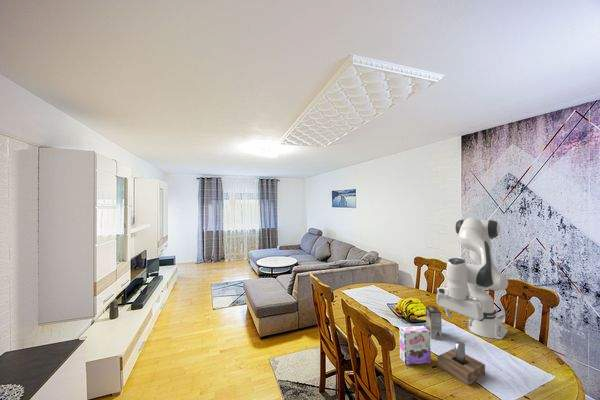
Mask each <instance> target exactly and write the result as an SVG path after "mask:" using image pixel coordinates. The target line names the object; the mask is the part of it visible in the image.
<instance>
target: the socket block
mask: <svg viewBox="0 0 600 400" xmlns="http://www.w3.org/2000/svg"><path fill="white" fill-rule="evenodd" d="M436 358H437V359H436V360H437V361H436V362H437V363H436V364H437V367H438V368H439V369H441V370H442V371H443V372H445V373H447V374H449V376H452V377H453V378H455V379H457V380H458V381H460V382H461V383H462V384H464V385H466V386H469V385H472V384H473V383H475V382H477V381H478V380H480V379H482V378H483V377H485V376H486V364H485V363H483V362H481V361H479V360H477V359H475V358H474V357H471V356H470V355H468V354H466V353H465V362H466V364H465V365H461V364H459V363H458V362H456V360H455V347H454V348H452V349H450V350H448V351H445V352H443V353H441V354H439V355H437V356H436Z"/></svg>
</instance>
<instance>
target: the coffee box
mask: <svg viewBox="0 0 600 400" xmlns="http://www.w3.org/2000/svg"><path fill="white" fill-rule="evenodd" d="M425 325H426V327H425V328H427V329H428V330H429V331H430V340H431V339H434V340H443V336H442V335H443V332H442V331H443V330H442V327H443V326H442V312H441V311H440V309H439V308H438V307H437V306H436V305H425Z"/></svg>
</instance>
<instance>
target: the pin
mask: <svg viewBox="0 0 600 400" xmlns="http://www.w3.org/2000/svg"><path fill="white" fill-rule="evenodd" d="M454 348H455V360H456V362H458V363H459V364H461V365H465V364H466V362H465V354H466V344H465V343H464V342H462V341H459V340H456V341H454Z"/></svg>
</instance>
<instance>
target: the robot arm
mask: <svg viewBox="0 0 600 400" xmlns="http://www.w3.org/2000/svg"><path fill="white" fill-rule="evenodd" d="M454 229H455V232H456V235H458V237H457V240H458V242H459V244H460V245H461V246H462V247H463V248H465V249H467V250H469V258H470V260H471V261H472V262H474V263H475V264H471V263H466V260H464V259H462V258H458V257H453V258H449V259H447V263H446V272H445V274H446V280H447V282H446V285H443V286H441V287H437V288H436V291H437V293H436V305H438V306H439V307H442V308H443V310H444V312H445V314H446V317H447V318H449V319H451V318H453V317H452V316H453V315H452V313H450V311H452V312H455V313H458V314H460V315H463V316H466V317H467V318H468V320H467V321H466V326H467V327H468V328H469V331H470V332H472V333H473V334H475V335H478V336H480V337H483V338H488V339H495V340H503V339H504V337H505V336H506V335H507V334H508V332H509V330H508V329H507V328H505V327H503V326H504V325H503V321H502V319H499V318H498V317H497V316H496V315H497V314H498V312H499V311H498V310H497V309H495V307H494V306H495V305H494V298H493V297H492V296H491V294H489V293H488V292H486V291H485V290H484V289H487V290H492V291H505V290H506V289H507V288H508V286H509V280H508V278H507V276H506V275H505V274H503V272H501V271H499V270H498V268H497V267H496V265H495V263H494V260H493V252H492V240H493V239H496V238H498V236H499V235H500V232H501V226H500V224H499V222H498V221H497V220H496V221H495V220H492V219H488V220H487V219H478V218H475V217H467V218H465V219H459V220H458V221H456V222H455V226H454Z"/></svg>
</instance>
